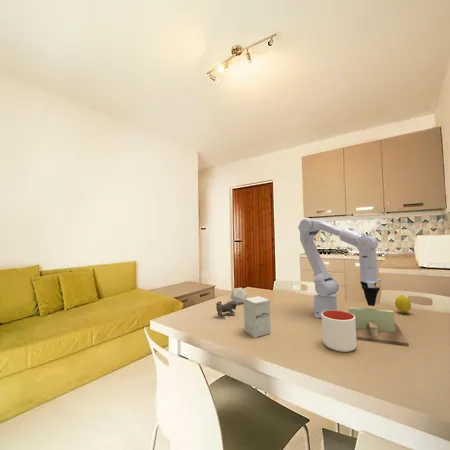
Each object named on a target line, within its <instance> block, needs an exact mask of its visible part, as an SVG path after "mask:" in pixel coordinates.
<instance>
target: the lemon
mask: <svg viewBox="0 0 450 450" xmlns="http://www.w3.org/2000/svg"><path fill="white" fill-rule="evenodd" d="M394 305H395V307H396V309H397V310H398V311H399V312H401V313H402V314H406V313H408V312H409V311H410V310H411V309H412V304H411V301H410V299H409V298H408V296H406V295H403V294H401V295H398V296H397V297H396V298H395V302H394Z"/></svg>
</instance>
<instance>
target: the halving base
mask: <svg viewBox="0 0 450 450" xmlns="http://www.w3.org/2000/svg"><path fill="white" fill-rule="evenodd" d="M394 324H395V332H387V331H379V330H378V328H377V326H376V323H375V322H369V324H367V329H361V328H356V340H357V341H358V340H360V341H365V342H372V343H373V342H374V343H380V344H381V343H383V344H390V345H395V346H396V345H397V346H405V347H409V346H410V344H409V341H408V340H407V339H406V337H405V335H404V334H403V333H402V331H401V329H400V328H399V325H398V324H397V323H396V322H394Z"/></svg>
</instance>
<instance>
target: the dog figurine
mask: <svg viewBox="0 0 450 450" xmlns="http://www.w3.org/2000/svg"><path fill="white" fill-rule="evenodd" d="M215 305H216V311H217V316H220V317H221V318H222V319H223V318H225V319H226V317H225V316H224V313H227V315H228V316H232V315H234V316H235V311H234V310H236V309H237V306H238V304H237V302H236V301H233V300H232V301H227V302H226V303H224V304H222V301H217V302H216V304H215ZM222 314H223V315H222Z"/></svg>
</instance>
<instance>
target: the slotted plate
mask: <svg viewBox="0 0 450 450" xmlns="http://www.w3.org/2000/svg"><path fill="white" fill-rule="evenodd" d="M348 313H351V314H353V315H354V316H355V324H356V328H361V329H367V324H369V322H375V323H376V326H377V328H378V330H379V331H387V332H395V324H394V323H395V312H394V311H393V310H389V309H381V308H380V309H377V308H369V307H368V308H367V307H356V306H348Z"/></svg>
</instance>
